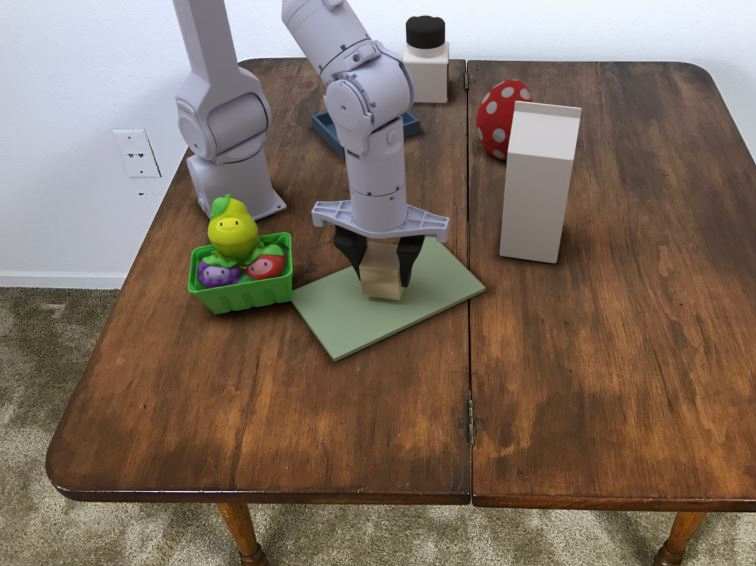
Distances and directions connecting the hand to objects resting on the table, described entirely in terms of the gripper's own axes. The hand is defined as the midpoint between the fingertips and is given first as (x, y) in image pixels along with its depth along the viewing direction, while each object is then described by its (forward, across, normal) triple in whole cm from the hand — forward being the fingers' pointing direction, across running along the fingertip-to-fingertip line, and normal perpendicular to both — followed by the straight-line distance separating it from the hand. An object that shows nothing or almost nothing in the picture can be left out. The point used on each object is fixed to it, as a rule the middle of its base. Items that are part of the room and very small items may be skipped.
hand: (385, 278), depth 78 cm
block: (+1, 0, 0) cm, 1 cm away
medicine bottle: (+3, +5, -47) cm, 47 cm away
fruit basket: (+2, +16, +3) cm, 16 cm away
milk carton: (+3, -16, -13) cm, 20 cm away
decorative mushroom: (+3, -12, -33) cm, 35 cm away
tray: (+2, +12, -33) cm, 35 cm away
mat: (+2, 0, 0) cm, 2 cm away
